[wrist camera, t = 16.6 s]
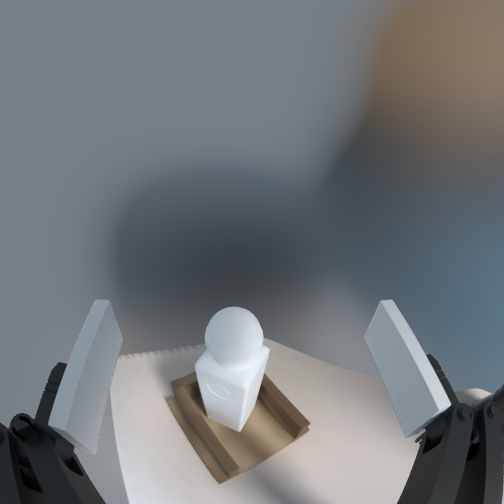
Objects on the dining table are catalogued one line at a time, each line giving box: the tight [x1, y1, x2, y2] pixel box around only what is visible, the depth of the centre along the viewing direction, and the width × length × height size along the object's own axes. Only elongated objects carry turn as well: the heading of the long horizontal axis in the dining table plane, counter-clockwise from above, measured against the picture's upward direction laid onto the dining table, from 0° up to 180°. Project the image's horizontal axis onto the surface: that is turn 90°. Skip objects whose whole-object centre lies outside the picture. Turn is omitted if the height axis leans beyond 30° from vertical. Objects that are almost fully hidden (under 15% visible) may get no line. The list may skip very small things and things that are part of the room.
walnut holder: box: [167, 372, 310, 484], centre depth 35 cm, size 16×16×6 cm
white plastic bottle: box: [195, 307, 270, 432], centre depth 31 cm, size 6×6×22 cm
